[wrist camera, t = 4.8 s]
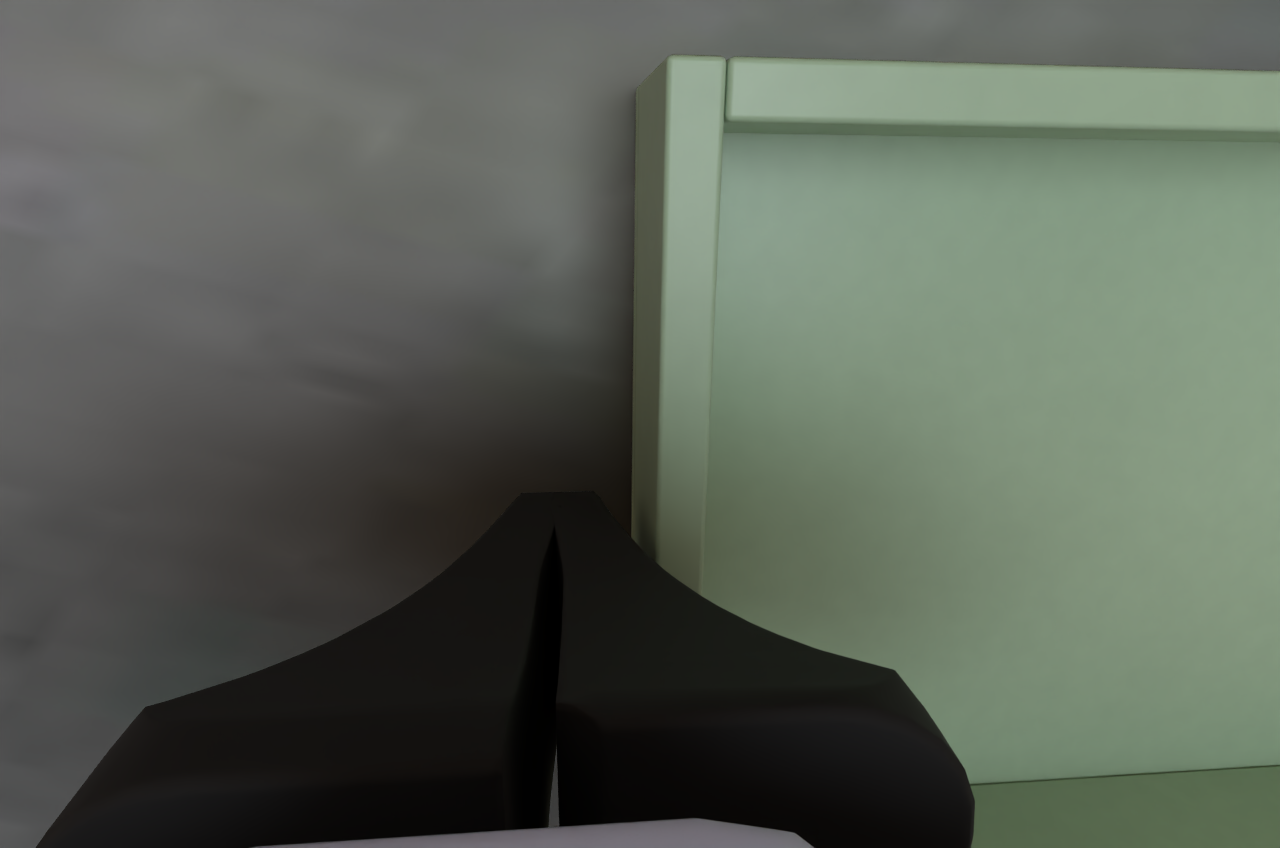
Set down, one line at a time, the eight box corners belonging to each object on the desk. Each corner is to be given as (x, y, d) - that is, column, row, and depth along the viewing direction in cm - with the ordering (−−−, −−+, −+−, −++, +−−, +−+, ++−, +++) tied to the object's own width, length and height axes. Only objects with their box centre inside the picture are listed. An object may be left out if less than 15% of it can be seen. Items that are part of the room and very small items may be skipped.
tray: (1409, 758, 16) (1621, 910, 13) (628, 807, 15) (645, 993, 12) (1697, 110, 12) (2124, 92, 9) (635, 86, 10) (666, 53, 7)
